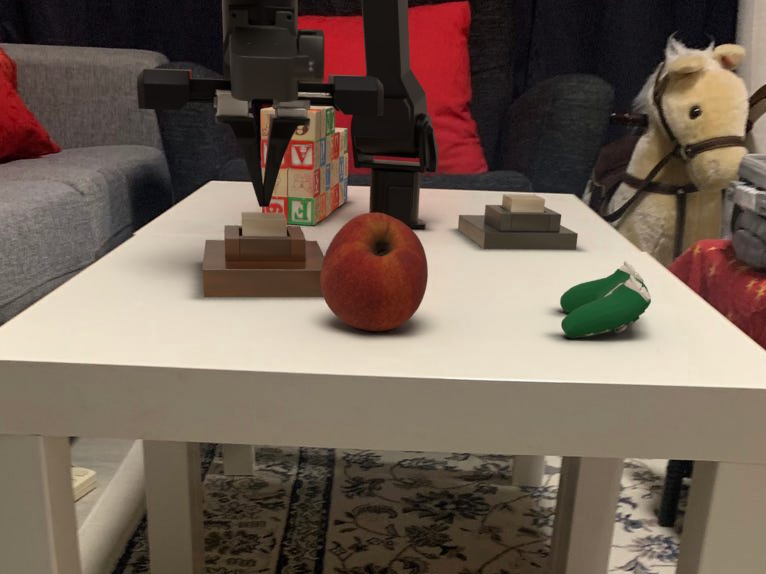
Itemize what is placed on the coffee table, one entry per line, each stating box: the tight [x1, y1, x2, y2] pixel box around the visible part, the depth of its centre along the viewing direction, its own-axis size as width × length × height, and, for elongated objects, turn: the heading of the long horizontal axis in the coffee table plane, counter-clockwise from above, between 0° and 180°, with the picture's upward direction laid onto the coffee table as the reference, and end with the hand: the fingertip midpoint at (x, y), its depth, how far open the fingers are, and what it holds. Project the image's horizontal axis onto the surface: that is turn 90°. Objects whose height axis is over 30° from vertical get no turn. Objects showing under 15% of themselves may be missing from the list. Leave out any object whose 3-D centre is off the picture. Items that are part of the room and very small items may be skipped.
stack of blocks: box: [259, 106, 349, 226], centre depth 114 cm, size 21×6×12 cm, turn 172°
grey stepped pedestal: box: [457, 204, 579, 251], centre depth 102 cm, size 12×10×4 cm
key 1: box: [240, 211, 288, 236], centre depth 78 cm, size 4×4×2 cm
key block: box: [201, 224, 325, 298], centre depth 79 cm, size 13×10×4 cm
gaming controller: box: [559, 260, 652, 339], centre depth 68 cm, size 9×4×6 cm
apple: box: [320, 212, 429, 332], centre depth 65 cm, size 7×8×8 cm
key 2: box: [501, 193, 546, 213], centre depth 99 cm, size 4×4×2 cm
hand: (263, 206), depth 77 cm, fingers closed
